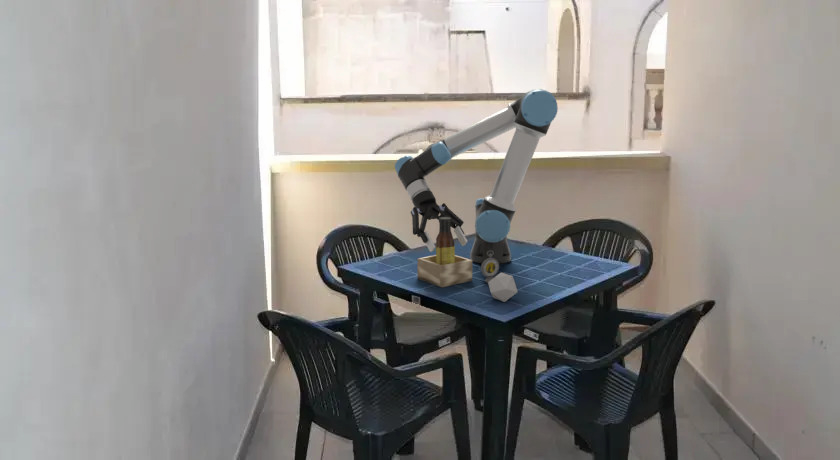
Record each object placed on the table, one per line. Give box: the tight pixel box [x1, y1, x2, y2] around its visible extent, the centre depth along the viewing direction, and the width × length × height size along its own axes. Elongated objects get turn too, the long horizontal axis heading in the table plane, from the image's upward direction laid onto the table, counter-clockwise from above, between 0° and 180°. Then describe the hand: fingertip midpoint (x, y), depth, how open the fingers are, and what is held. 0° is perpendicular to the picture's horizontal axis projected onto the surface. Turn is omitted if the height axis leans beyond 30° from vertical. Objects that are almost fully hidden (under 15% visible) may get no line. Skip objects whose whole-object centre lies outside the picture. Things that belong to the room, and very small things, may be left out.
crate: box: [417, 254, 473, 288], centre depth 226 cm, size 13×13×7 cm
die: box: [487, 272, 519, 303], centre depth 205 cm, size 8×9×10 cm
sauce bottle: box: [435, 217, 456, 265], centre depth 224 cm, size 7×6×20 cm
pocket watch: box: [480, 251, 500, 284], centre depth 223 cm, size 8×8×10 cm
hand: (449, 246), depth 222 cm, fingers open, 13 cm apart
